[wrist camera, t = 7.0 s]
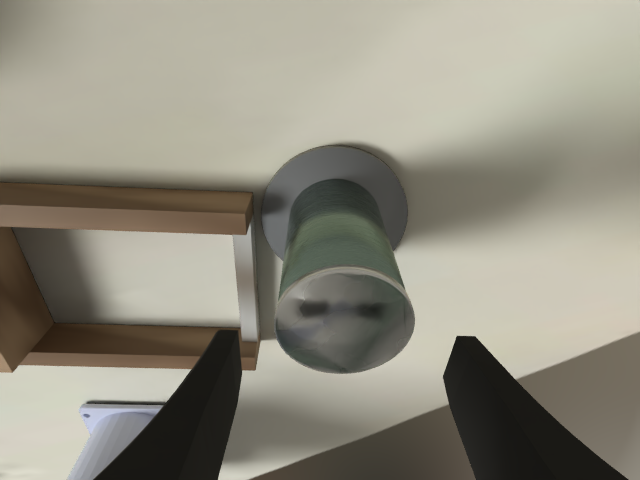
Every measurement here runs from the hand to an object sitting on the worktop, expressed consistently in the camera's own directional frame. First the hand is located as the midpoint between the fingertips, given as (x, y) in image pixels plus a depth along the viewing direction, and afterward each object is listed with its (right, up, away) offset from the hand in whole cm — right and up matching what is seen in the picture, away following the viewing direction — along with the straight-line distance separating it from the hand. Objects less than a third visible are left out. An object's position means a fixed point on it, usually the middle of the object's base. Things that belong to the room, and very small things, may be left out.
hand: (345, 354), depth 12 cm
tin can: (0, +5, +8) cm, 9 cm away
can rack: (-12, +2, +10) cm, 16 cm away
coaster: (0, +5, +8) cm, 10 cm away
